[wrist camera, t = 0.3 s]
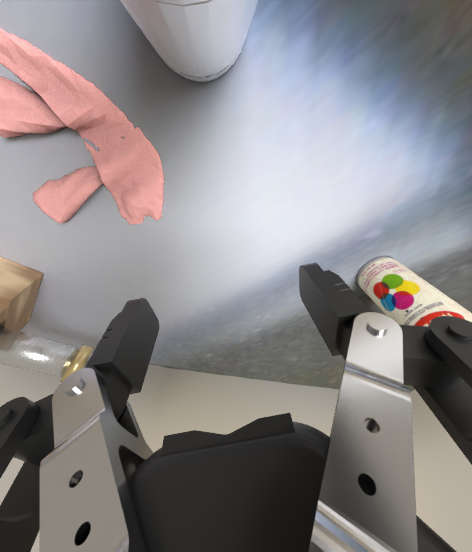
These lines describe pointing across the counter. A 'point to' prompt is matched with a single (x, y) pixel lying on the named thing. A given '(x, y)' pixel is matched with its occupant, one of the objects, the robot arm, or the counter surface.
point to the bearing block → (17, 293)
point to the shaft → (41, 354)
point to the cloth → (90, 124)
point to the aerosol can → (405, 293)
